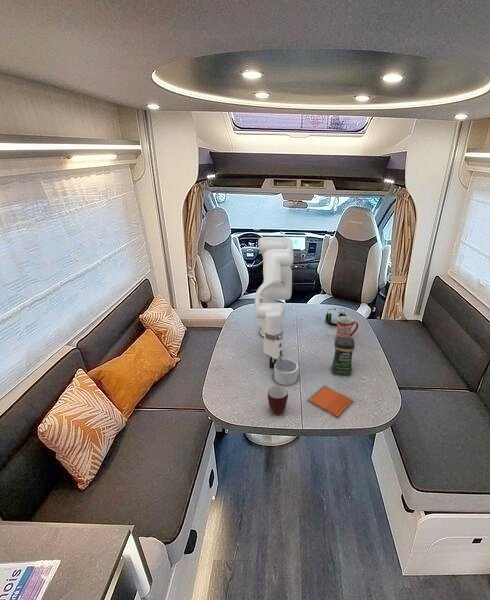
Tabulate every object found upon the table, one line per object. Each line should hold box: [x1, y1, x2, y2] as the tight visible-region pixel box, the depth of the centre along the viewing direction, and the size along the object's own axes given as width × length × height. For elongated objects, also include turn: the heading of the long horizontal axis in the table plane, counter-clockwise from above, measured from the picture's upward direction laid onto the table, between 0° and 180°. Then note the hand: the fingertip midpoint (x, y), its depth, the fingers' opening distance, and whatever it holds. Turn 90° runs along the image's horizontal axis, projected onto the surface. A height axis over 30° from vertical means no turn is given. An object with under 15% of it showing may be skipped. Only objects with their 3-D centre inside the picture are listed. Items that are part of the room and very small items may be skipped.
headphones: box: [324, 307, 348, 328], centre depth 202 cm, size 16×10×20 cm
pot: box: [273, 358, 299, 386], centre depth 148 cm, size 11×11×6 cm
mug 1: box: [267, 384, 289, 416], centre depth 127 cm, size 11×8×10 cm
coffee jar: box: [331, 336, 356, 376], centre depth 151 cm, size 10×8×19 cm
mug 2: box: [336, 315, 359, 338], centre depth 180 cm, size 13×9×14 cm
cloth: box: [309, 386, 353, 418], centre depth 135 cm, size 14×12×1 cm
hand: (272, 367), depth 153 cm, fingers closed
